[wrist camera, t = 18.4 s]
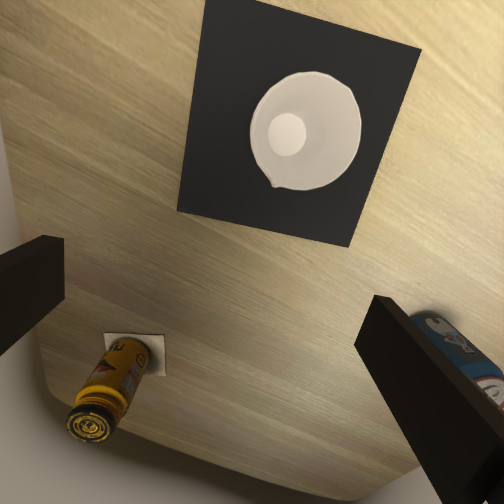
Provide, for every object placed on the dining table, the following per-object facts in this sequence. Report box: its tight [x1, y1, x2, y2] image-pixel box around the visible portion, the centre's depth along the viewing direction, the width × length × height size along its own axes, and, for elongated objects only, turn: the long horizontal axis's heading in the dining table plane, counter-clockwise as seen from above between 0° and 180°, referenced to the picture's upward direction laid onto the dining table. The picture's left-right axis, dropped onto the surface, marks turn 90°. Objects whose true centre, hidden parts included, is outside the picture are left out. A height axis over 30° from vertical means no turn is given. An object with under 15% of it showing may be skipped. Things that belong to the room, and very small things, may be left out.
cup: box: [250, 71, 361, 190], centre depth 27 cm, size 9×9×10 cm
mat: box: [177, 0, 422, 248], centre depth 32 cm, size 22×22×1 cm
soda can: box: [412, 314, 504, 409], centre depth 37 cm, size 7×7×12 cm
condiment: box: [66, 333, 166, 443], centre depth 37 cm, size 7×8×12 cm
